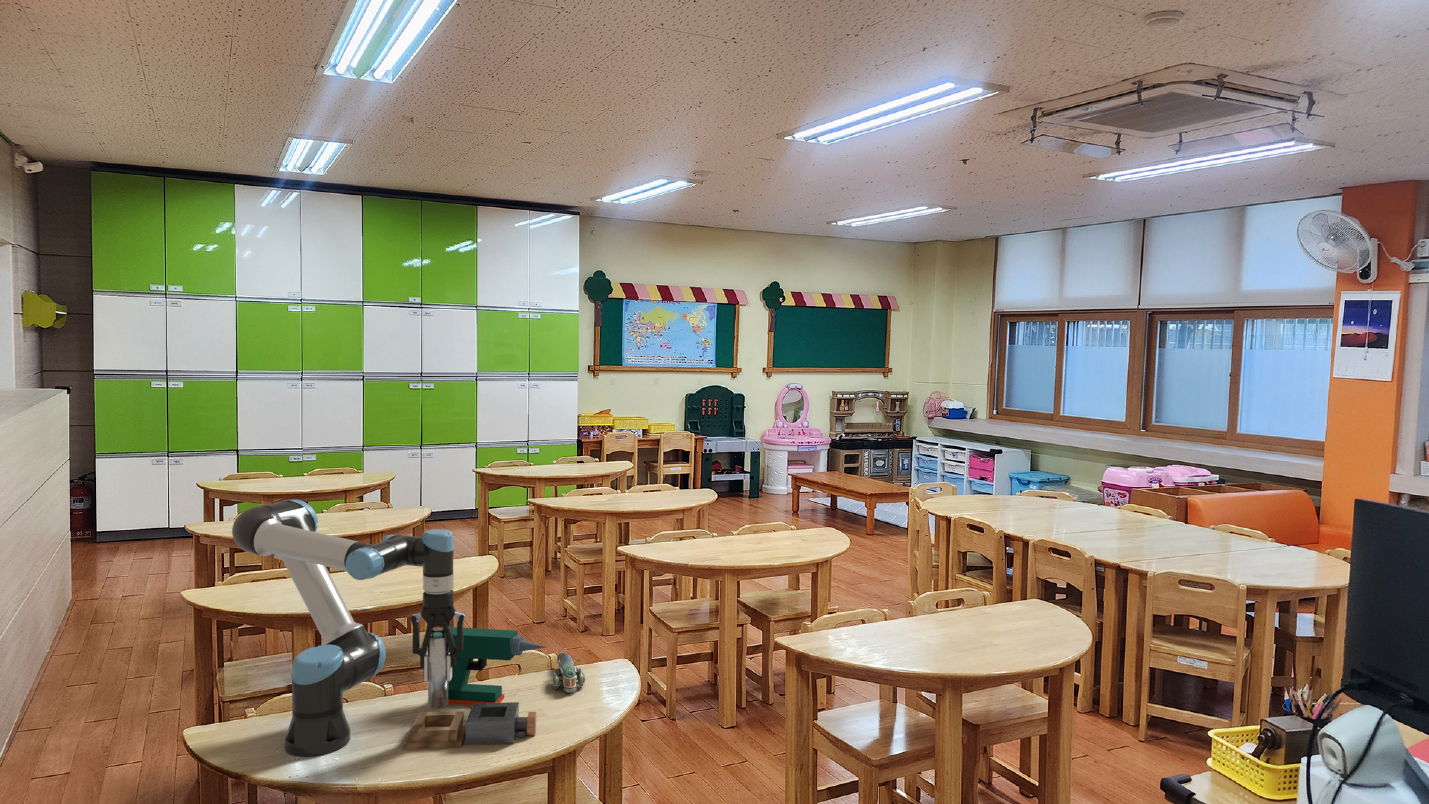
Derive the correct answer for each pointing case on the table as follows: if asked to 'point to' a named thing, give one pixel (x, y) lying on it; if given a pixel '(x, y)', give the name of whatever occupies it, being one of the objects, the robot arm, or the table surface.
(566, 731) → the table surface
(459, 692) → the power tool
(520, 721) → the block
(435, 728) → the frame
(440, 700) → the peg
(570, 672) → the hoverbike
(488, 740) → the socket block
